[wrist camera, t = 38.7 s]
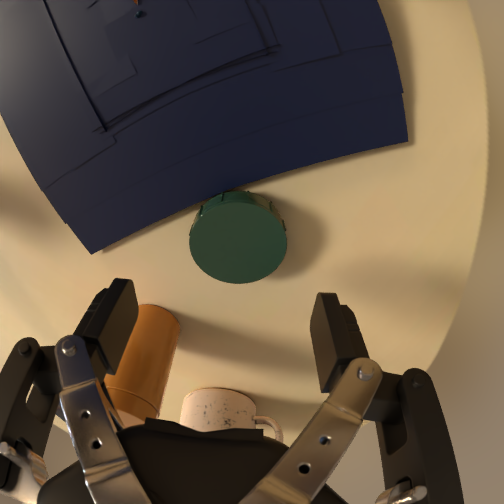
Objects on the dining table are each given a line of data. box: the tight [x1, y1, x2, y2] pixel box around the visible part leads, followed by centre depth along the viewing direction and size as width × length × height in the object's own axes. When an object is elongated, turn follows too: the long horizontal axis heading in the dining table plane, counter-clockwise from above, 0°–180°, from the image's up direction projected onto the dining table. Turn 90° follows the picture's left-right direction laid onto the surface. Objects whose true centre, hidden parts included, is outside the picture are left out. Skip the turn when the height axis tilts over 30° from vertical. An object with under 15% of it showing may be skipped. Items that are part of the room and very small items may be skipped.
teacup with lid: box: [180, 388, 283, 443], centre depth 25 cm, size 12×9×12 cm
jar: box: [104, 304, 180, 428], centre depth 19 cm, size 5×5×10 cm
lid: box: [189, 191, 287, 284], centre depth 18 cm, size 6×6×2 cm
